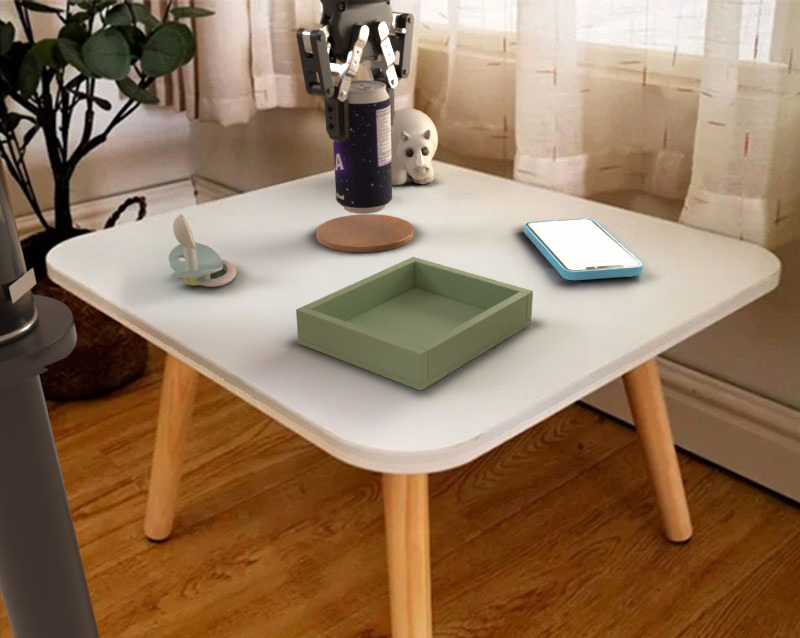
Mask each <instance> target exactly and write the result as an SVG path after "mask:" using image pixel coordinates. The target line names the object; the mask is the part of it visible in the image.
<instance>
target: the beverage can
mask: <svg viewBox="0 0 800 638" xmlns="http://www.w3.org/2000/svg"><path fill="white" fill-rule="evenodd" d="M337 84H338V83H337ZM337 84H334V86H337ZM385 88H386V85H385V84H384V83H382V82H378V81H371V80H370V79H369V80H366V79H363V80H361V79H360V80H359V79H358V80H357V79H355V80H351V84H350V88H349V92H348V96H347V99H346V100H345V101H349V115H350V139H349V140H347V141H344V142H341V141H336V140H332V143H333V144H332V145H333V165H334V185H335V200H336V202H337V203H338V204H339V205H340V206H341V207H343V209H344V211H346V212H348V213H352V214H356V215H360V214H376V213H379V212H381V211H383V210H384V209H386V206H387V205H388V204H390V202H392V200H393V184H392V164H391V110H390V97H389V95H388V93H387V91H386V89H385Z"/></svg>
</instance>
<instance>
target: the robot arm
mask: <svg viewBox="0 0 800 638" xmlns="http://www.w3.org/2000/svg"><path fill="white" fill-rule="evenodd" d="M319 1H320V3H321V5H322V12H321V18H320V21H319V24H317V25H315V26H313V27H310V28H309V27H307V28H305V27H300V28H298V29H297V31H296V42H297V47H298V48H297V49H298V53H299V58H300V63H301V69H302V76H303V79H304V80H303V81H304V85H305V91H306V93H307V95H309V96H314V97H319V98H322V100H323V102H324V113H325V114H324V115H325V130H326V133H327V135H328V137H329V139H330V140H332V141H333V140H336V141H341V142H344V141H347V140H349V139H350V115H349V101H345V100H346V99H347V96H348V92H349V88H350V84H351V81H353V79H354V78H355V77H356V76H357V75H358V71H359V67H360V65H362V66H363V67H365V68H366V70H367V72H368V77H369V78H370V79H369V80H370V81H378V82H382V83H384V84H385V85H386V88H385V89H386V91H387V93H388V95H389V97H390V110H391V127H392V126H393V120H394V115H395V111H396V110H395V89H396V88H397V86H398V84H399V82H400V80H402V79H404V80H405V79H408V77H409V75H410V70H411V59H412V48H413V38H414V25H415V16H414V14H413V13H409V12H398V11H393V9H392V5H391V0H319ZM397 52H398V53H399V58H398V64H396V56H397V55H396V54H397ZM337 61H339V63H337ZM340 63H342V64H340ZM338 76H339V77H338ZM337 77H338V80H337ZM318 80H319V81H318ZM336 80H337V86H335V85H336V84H335V83H336ZM4 168H5V167H4V163H3V159H2V154H1V153H0V347H2V346H5V345H8V344H10V343H13V342H15V341H17V340H19V339H21V338H23V337H25V336H26V335H28V334H29V333H31V332H32V331H33V330H34V329H35V328H36V326H37V325H38V322H39V318H38V313H37V309H36V307H35V305H34V299H33V294H34V293H33V292H32V289H33V287H35V285H37V280H36V275H35V270H34V267H32V268H30V269H29V270H28V271H27V266H26V262H25V258H24V253H23V249H22V244H21V240H20V235H19V230H18V226H17V222H16V217H15V213H14V209H13V204H12V199H11V195H10V190H9V186H8V181H7V178H6V177H7V176H6V171H5V169H4Z"/></svg>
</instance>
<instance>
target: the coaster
mask: <svg viewBox="0 0 800 638" xmlns="http://www.w3.org/2000/svg"><path fill="white" fill-rule="evenodd" d="M412 239H414V227H413V225H412V224H411V223H410V222H409V221H408V220H405V219H402V218H399V217H397V216H393V215H392V216H391V215H385V214H376V213H368V214H350V215H344V216H339V217H335V218H332V219H329V220H327V221H325V222H323V223H322V224H320V225H319V226H318V227H317V228H316V240H317V241H318V243H319V244H321V245H322V246H324V247H327V248H329V249H331V250H336V251H341V252H347V253H377V252H384V251H389V250H393V249H397V248H400V247H402V246H404V245H406V244H408V243H409V242H410V241H411V240H412Z"/></svg>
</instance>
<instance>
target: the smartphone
mask: <svg viewBox="0 0 800 638" xmlns="http://www.w3.org/2000/svg"><path fill="white" fill-rule="evenodd" d="M523 234H524V235H525V236H526V237H527V238H528V239H529V240H530V242H532V244H533V245H534V246H535V247H536V248H537V249H538V251H539V252H540V253H541V254H542V255H543V256H544V258H545V259H546V260H547V261H548V263H550V264H551V266H552V267H553V268H554V269H555V270H556V272H557V273H558V274H559V275H560V276H561V277H562V278H563V279H565V280H569V281H582V280H583V281H584V280H596V279H597V280H598V279H611V278H623V277H624V278H625V277H626V278H633V277H636V276H640V275H642V273H643V267H644V266H643V265H644V264H643V262H642V261H641V260H640V259H639V258H638V257H636V256H635V255H634V254H633V253H632V252H631V251H630V250H629V249H627V248H626V247H625V246H624V245H623V244H622V243H621V242H620V241H618V240H617V238H615V237H614V236H613V235H612V234H610V232H608V231H607V230H606V229H605V228H604V227H603V226H602V225H600V223H598V222H597V221H596V220H595V219H592V218H585V217H581V218H566V219H565V218H564V219H550V220H549V219H548V220H536V221H527V222H524V226H523Z"/></svg>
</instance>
